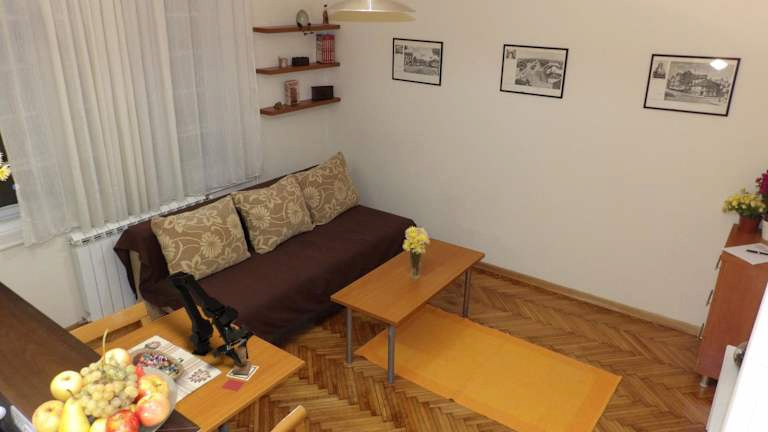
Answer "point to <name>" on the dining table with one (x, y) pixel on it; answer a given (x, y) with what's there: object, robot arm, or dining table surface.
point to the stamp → (242, 363)
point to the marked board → (252, 370)
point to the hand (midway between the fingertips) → (244, 361)
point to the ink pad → (233, 385)
